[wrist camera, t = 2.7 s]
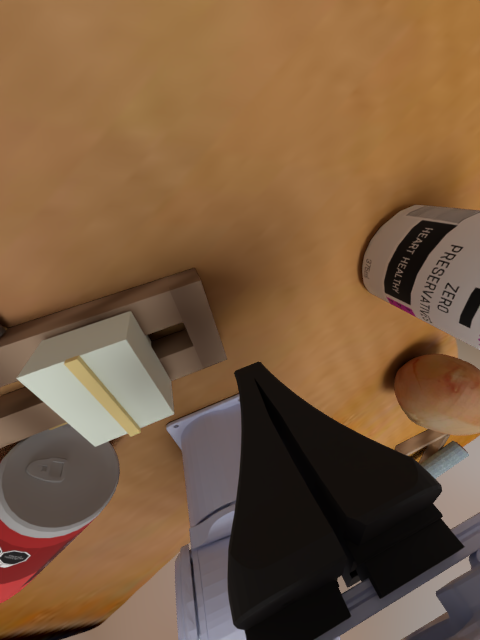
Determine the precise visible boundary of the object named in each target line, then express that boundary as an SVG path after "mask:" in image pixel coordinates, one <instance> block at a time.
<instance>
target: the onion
mask: <svg viewBox="0 0 480 640" xmlns="http://www.w3.org/2000/svg"><path fill="white" fill-rule="evenodd" d="M394 390H395V395H396V398H397V400H398V402H399V404H400V406H401V408H402V410H403V411H404V412H405V414H406V415H407V416H408V418H409V419H410V420H411V421H413V422H414V423H416V424H417V425H420V426H422V427H424V428H427V429H430V430H433V431H436V432H440V433H443V434H449V435H471V434H476V433H480V370H479V369H478V368H476V367H475V366H474V365H472V364H470V363H468V362H466V361H463V360H461V359H458V358H455V357H451V356H448V355H443V354H428V355H422V356H418V357H416V358H413V359H412V360H410V361H409V362H407V363H405V364H404V365H403V366H402V367H401V368H400V369H399V370H398V372H397V374H396V377H395V384H394Z"/></svg>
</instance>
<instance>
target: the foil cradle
mask: <svg viewBox="0 0 480 640" xmlns="http://www.w3.org/2000/svg"><path fill="white" fill-rule="evenodd" d="M449 436H450V435H449V434H443V433H440V432H436V431H433V430H430V429H428V430H426V431H424V432H422V433H420V434H418V435H416V436H414V437H412V438H410V439H409V440H407V441H405V442H403V443H401V444H399V445H397V446H396V447H395V451H398V452H400V453H402V454H405V455H407V456H408V455H410V454H412V453H413V452H415V451H417V450H419V449H421V448H423V447H425V446H427V445H428V446H427V448H426V450H425V452H424V454H423V456H422V458H421V460H420V462H419V464H421V463H422V462H423V461H425V460H426V459H428V458H429V457H430V456H432V455H433V454H435V453H436V452H438V451H439V450H440V449H442V448H443V446H444V444H445V443H446V441H447V439H448V438H449Z"/></svg>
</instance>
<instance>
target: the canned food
mask: <svg viewBox="0 0 480 640" xmlns="http://www.w3.org/2000/svg"><path fill="white" fill-rule="evenodd" d="M119 474H120V470H119V461H118V457H117V454H116V452H115V450H114V448H113V446H112V445H111V444H110V442H109V441H108V442H106V443H103V444H101V445H98V446H96V447H95V446H94V445H93V444H91V443H90V442H89V441H88V440H87V439H86V438H84V437H83V436H82V435H81V434H80V433H79V432H78V431H76V430H75V429H74V428H73V427H70V428H63V427H62V426H60V427H57V428H55V429H52V430H49V429H48V430H45V431H43V432H40V433H38V434H35V435H33V436H30V437H27V438H25V439H23V440H22V441H20V442H19V443H18V444H16V446H15V447H13V448H12V449H11V450H10V451H9V452H8V454H7V455H6V456H5V457H4V458H3V459H2V460H1V462H0V603H2V602H4V601H6V600H8V599H9V598H11V597H12V596H13V595H15V594H16V593H18V592H19V591H21V590H22V589H23V588H24V587H25V586H26V585H27V584H28V583H29V582H31V581H32V580H33V579H34V578H35V577H36V576H37V575H38V574H39V573H40V572H41V571H42V570H43V569H44V568H45V567H46V566H47V565H48V564H49V563H50V562H51V561H52V560H53V559H54V558H55V557H56V556H57V555H58V554H59V553H60V552H61V551H62V550H63V549H64V548H65V547H67V546H68V545H69V544H70V543H71V542H72V541H73V540H74V539H75V538H76V537H77V536H78V535H79V534H80V533H81V532H82V531H83V530H84V529H85V528H86V527H87V526H88V525H89V524H90V523H91V522H92V521H93V520H94V519H95V518H96V517H97V516H98V515H99V514H100V512H101V511H102V510H103V509H104V507H105V506H106V505H107V503H108V502H109V501H110V499H111V498H112V496H113V494H114V492H115V490H116V487H117V484H118V480H119Z"/></svg>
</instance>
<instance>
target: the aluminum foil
mask: <svg viewBox="0 0 480 640" xmlns="http://www.w3.org/2000/svg"><path fill="white" fill-rule="evenodd" d="M467 456H469V454H468V453H467V451H466V450H465V449H464V448H463V447H461V446H460V445H459V444H458V443H457V442H454V441H452V442H450V443H449V444H447V445H446V446H445V447H443V448H442V449H440V450H439V451H438V452H436V453H435V454H433V455H432V456H430V457H429V458H428V459H426V460H425V461H423V462H422V463H421V464H420V465H421V466H422V467H423V468H424V469H426V470H427V471H428V472H429V473H430V474H431V475H432V476H433V477H434V478H435V479H436V478H437V477H438V476H440V475H441V474H443V473H444V472H445V471H447V470H449V469H450V468H451V467H453V466H454V465H456V464H457V463H459V462H460V461H462V460H463V459H464V458H466V457H467Z"/></svg>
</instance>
